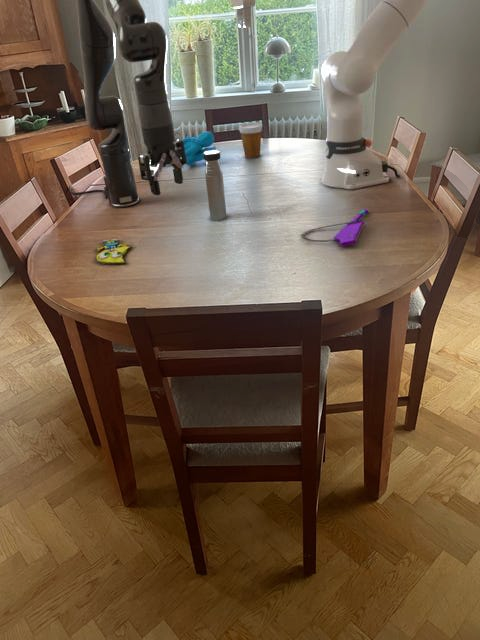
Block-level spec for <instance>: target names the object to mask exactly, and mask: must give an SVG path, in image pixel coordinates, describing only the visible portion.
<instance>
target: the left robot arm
mask: <svg viewBox="0 0 480 640" xmlns="http://www.w3.org/2000/svg"><path fill="white" fill-rule="evenodd" d="M75 2H76V3H75V4H76V11H77V12H76V13H77V25H78V37H79V47H80V55H81V63H82V71H83V72H82V73H83V86H84V89H83V91H84V113H85V119H86V122H87V125H88V126H89V128H90V129H91V130H92V131H94V132H103V131H107V130H111V133H110V134H109V135H108V137H106V138H105V139H103V140H102V141H100V142H99V144H98V150H99V155H100V159H101V163H102V167H103V173H104V176H103V182H104V185H105V186H104V187H103V189H91V190H86V191H79V192H75V191H73V190H72V186H70V185H69V186H68V192H69V193H70V194H71V195H73V196H81V195H88V194H93V193H103V194H104V196H105V199H107V200H108V203H109V205H111V206H112V207H114V208H128V207H132V206H134V205H137V204H138V203H140V198H139V194H138V188H137V183H136V178H135V173H134V169H133V164H132V158H131V154H130V148H129V142H128V140H129V139H128V135H127V130H126V129H127V128H126V123H125V114H124V109H123V105H122V103H121V100H120V99H119V97H117V95H107V96H101V95H100V94H101V90H102V87H103V85H104V83H105V81H106V79H107V78H108V76H109V74H110V72H111V70H112V68H113V66H114V64H115V61H116V37H117V46H118V51H119V54H120V55H121V57H122V58H123V59H124V60H125V61H127V62H128V63H140V62H146V61H147V62H148V61H151V62H150V66H149V67H148V69H146V70H145V71H143V72H140V73H138V74H137V75H135V76H134V78H133V86H134V87H133V88H134V91H135V96H136V103H137V108H138V109H137V110H138V119H139V123H140V129H141V134H142V139H143V144H144V145H145V146H146V149H147V150H146V153H144V154H137V155H138V156H137V161H138V167H139V173H140V179H141V180H142V181H148V184H149V188H150V192H151V194H152V195H153V196H161V194H162V193H161V188H160V183H159V179H158V178H159V175H160V173H161V172H162V169H163V168H165V167H166V166H168V165H170V166H171V167H172V168H173V169H172V173H173V179H174V183H175V184H177V185H182V184H184V183H183V182H184V175H183V167H184V165H187V164H186V163H187V160H186V155H185V150H184V144H183V141H181V140H179V139H176V136H175V129H174V122H173V116H172V111H171V106H170V103H169V97H168V91H167V84H166V64H167V53H168V52H167V51H168V37H167V34H166V33H167V32H165V29H164V28H163V26H162V25H161V24H160V23H159V22H157V21H148V22H147V16H146V13H145V9H144V8H143V6H142V5H141V2H140V1H139V0H105V5H106V8H107V10H108V11H107V12H108V13H109V15H110V17H111V18H112V21H113V23H114V25H115V29H116V33H117V34H116V35H117V36H116V37H115V32H114V28H113V27H112V25H111V23H110V21H109V19H108V18H107V17H106V15H105V14H104V12H103V11H102V10H101V8H100V7H99V5H98V4H97V1H96V0H75ZM174 151H175V154H174ZM180 155H181V157H180Z"/></svg>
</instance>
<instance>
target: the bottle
mask: <svg viewBox="0 0 480 640" xmlns="http://www.w3.org/2000/svg"><path fill="white" fill-rule="evenodd" d="M204 173H205V174H204V175H205V183H206V184H205V185H206V191H207V200H208V201H207V203H208V210H209V217H210V220H211V221H223V220H226V219H227V216H228V215H227V206H226V197H225V186H224V185H225V184H224V176H223V175H224V174H223V170H222V167H221V164H220V161H219V160H215V161H206V162H205V171H204Z"/></svg>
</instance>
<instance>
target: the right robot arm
mask: <svg viewBox="0 0 480 640" xmlns="http://www.w3.org/2000/svg"><path fill="white" fill-rule="evenodd" d="M230 2H231V8H233V10H235V9H236V10H235V12H236V16H237V22H238V27H239V28H246V29H247V28H251V26H252V21H251V19H252V8H254V7H256V0H230ZM427 2H428V0H381V1H380V2H379V4H377V6H376V7H375V8H374V9H373V11H372V12H371V13H370V14H369V16H368V17H367V18H366V20H365V21H363V23H362V24H361V26H360V28H359V32H358V34H357V36H356V38H355V39H354V41H353V43H352V45H350V47H349V49H347V51H345V50H340V51H336V52H334V53H332V54H330V55H329V56H328V57H326V59H325V60H324V62H323V63H322V67H321V76H322V80H323V87H324V97H325V103H326V114H327V115H326V116H327V117H326V118H327V123H326V125H327V126H326V127H327V129H326V130H327V132H326V139H325V145H324V154H325V155H324V156H325V164H324V170H323V175H322V178H321V183H322V185H324V186H327V187H330V188H338V189H339V188H341V189H346V190H356V189H361V188H366V187H371V186H376V185H380V184H385V183H389V182H390V176H389V175H388V174H387V173H388V169H390V170H391V171H393V172H394V175H395V177H396V178H397V179H399V178H400V177H401V175H400V174H398V170H397V169H396V168H395V167H394V166H392V165H389V164H388V162H387V161H386V160H381V159H380V158H379V157H377V156H376V155H375V154H373V152H371V151H370V150H368V148H370V147H371V146H373V141H372V140H371V139H368V138H367V139H366V138H364V137H362V134H363V117H364V111H363V108H362V105H361V100H360V95H361V94H363V93H366V92H367V91H368V90H369V89H370V88H371V87H372V85H373V83H374V81H375V79H376V78H375V77H376V74H377V72H378V71H379V68H380V67H381V65H382V64H383V62H384V60H385V58H386V57H387V55H388V54H389V53H390V51H391V50H392V48H393V47H394V46H395V45H396V44H397V43H398V42H399V40H400V39H401V38H402V37H403V35H404V34H405V33H406V32H407V31H408V29H409V28H410V27H411V26H412V25H413V23H414V22H415V21H416V19H417V18H418V17H419V15H420V14H421V12H422V10H423V9H424V7H425V6H426V4H427Z"/></svg>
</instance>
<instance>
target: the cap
mask: <svg viewBox="0 0 480 640" xmlns="http://www.w3.org/2000/svg"><path fill="white" fill-rule="evenodd" d="M220 159H221V153H220V150H217V149H216V150H211V151H206V152H204V161H206V162H207V161H215V160H218V161H219V160H220Z"/></svg>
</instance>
